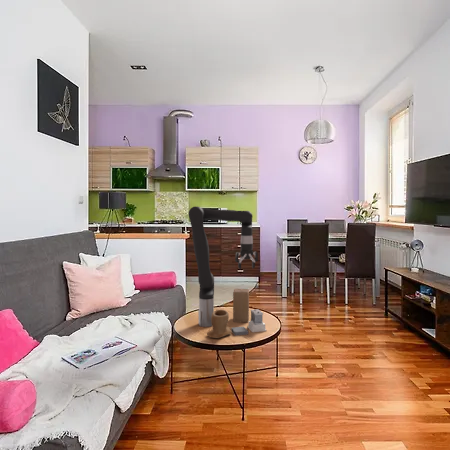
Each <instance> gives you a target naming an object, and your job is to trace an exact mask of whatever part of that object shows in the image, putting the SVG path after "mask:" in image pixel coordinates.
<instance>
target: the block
mask: <svg viewBox="0 0 450 450" xmlns="http://www.w3.org/2000/svg"><path fill="white" fill-rule="evenodd" d="M232 294H233V295H232V321H233V322H234V323H249V321H250V290H249V288H234V289H233V292H232Z"/></svg>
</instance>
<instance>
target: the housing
mask: <svg viewBox="0 0 450 450" xmlns="http://www.w3.org/2000/svg"><path fill="white" fill-rule="evenodd" d="M263 315H264V313H263V311H262V310H260V309H255V308H254V309H250V321H251V322H252V323H253V324H254V325H262V324H263V323H264V321H263Z"/></svg>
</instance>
